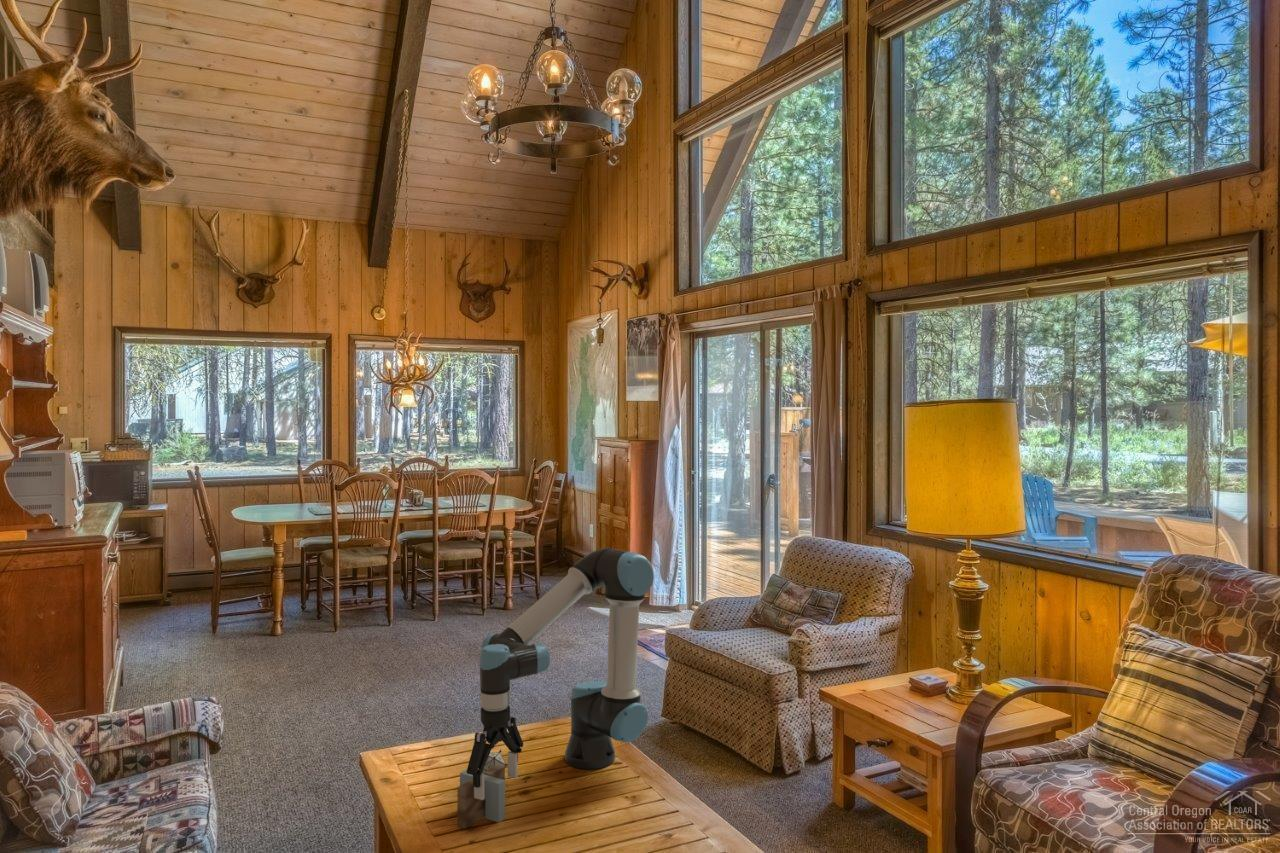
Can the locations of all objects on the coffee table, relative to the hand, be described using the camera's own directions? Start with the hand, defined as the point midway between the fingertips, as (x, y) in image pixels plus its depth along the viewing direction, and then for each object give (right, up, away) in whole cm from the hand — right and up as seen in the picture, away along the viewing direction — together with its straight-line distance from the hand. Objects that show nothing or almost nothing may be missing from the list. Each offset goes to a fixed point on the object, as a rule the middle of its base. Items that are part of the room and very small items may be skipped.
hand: (496, 787), depth 218 cm
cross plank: (-4, -8, +2) cm, 9 cm away
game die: (-5, -8, +22) cm, 24 cm away
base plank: (-4, -8, +2) cm, 9 cm away
